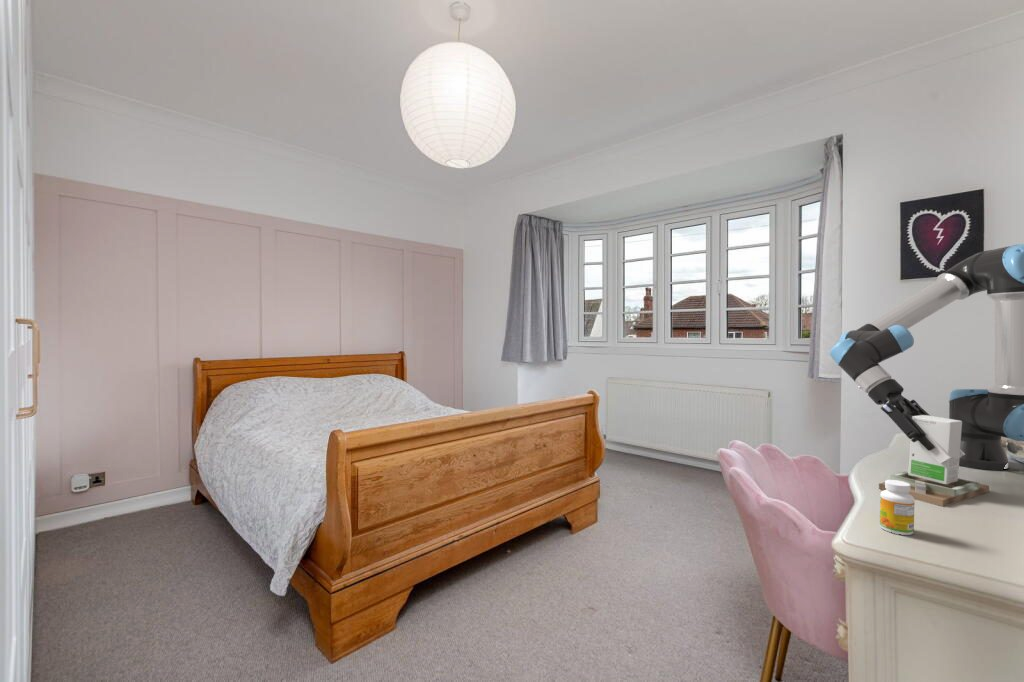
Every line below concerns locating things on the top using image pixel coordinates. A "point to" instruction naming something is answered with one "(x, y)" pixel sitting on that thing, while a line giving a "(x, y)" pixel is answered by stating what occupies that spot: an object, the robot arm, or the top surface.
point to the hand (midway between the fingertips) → (952, 458)
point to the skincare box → (947, 439)
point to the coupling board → (939, 489)
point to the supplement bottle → (897, 508)
